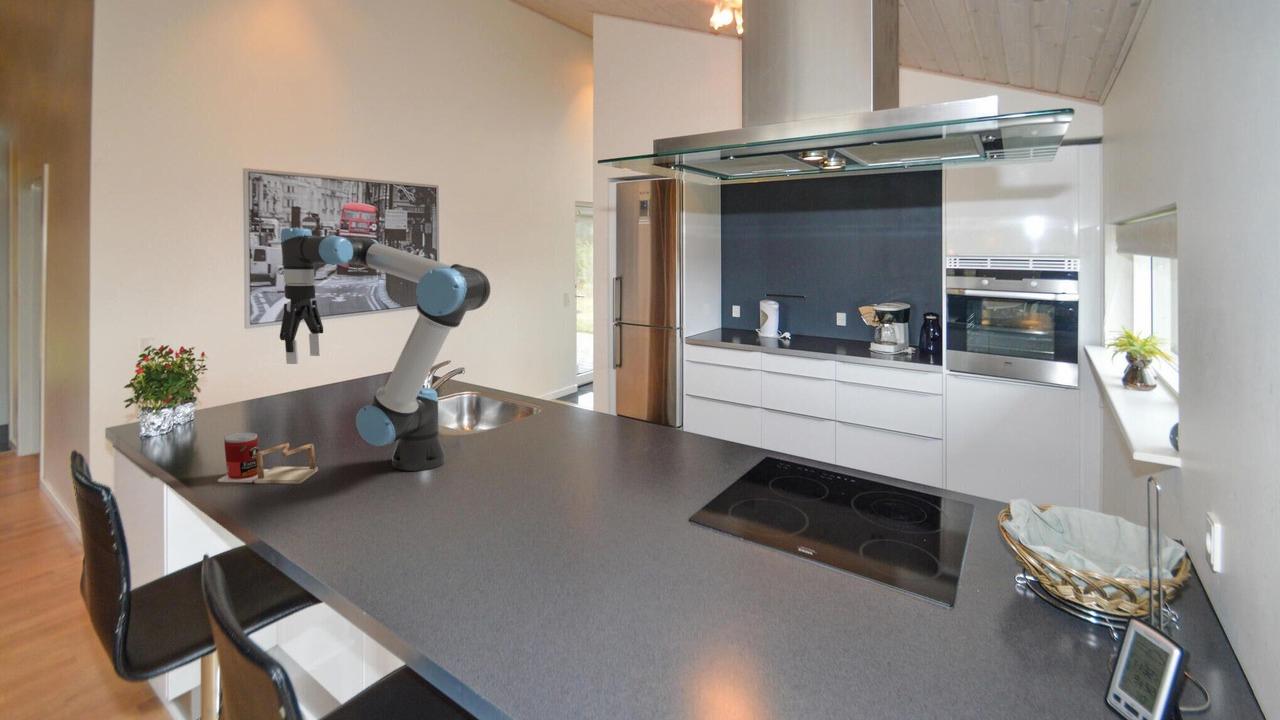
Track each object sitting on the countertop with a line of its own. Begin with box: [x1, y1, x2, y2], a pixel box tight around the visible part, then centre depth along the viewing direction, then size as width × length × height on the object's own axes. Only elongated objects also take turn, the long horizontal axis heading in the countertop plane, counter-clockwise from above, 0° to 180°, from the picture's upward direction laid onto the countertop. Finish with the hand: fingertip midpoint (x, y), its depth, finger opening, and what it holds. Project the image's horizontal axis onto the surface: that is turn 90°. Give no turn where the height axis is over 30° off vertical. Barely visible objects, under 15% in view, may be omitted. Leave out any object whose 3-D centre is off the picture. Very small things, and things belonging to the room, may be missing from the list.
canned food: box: [223, 432, 260, 479], centre depth 172 cm, size 8×8×11 cm
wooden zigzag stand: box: [253, 442, 319, 485], centre depth 173 cm, size 12×10×8 cm
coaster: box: [217, 468, 270, 483], centre depth 173 cm, size 9×8×1 cm
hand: (304, 359), depth 177 cm, fingers open, 13 cm apart
